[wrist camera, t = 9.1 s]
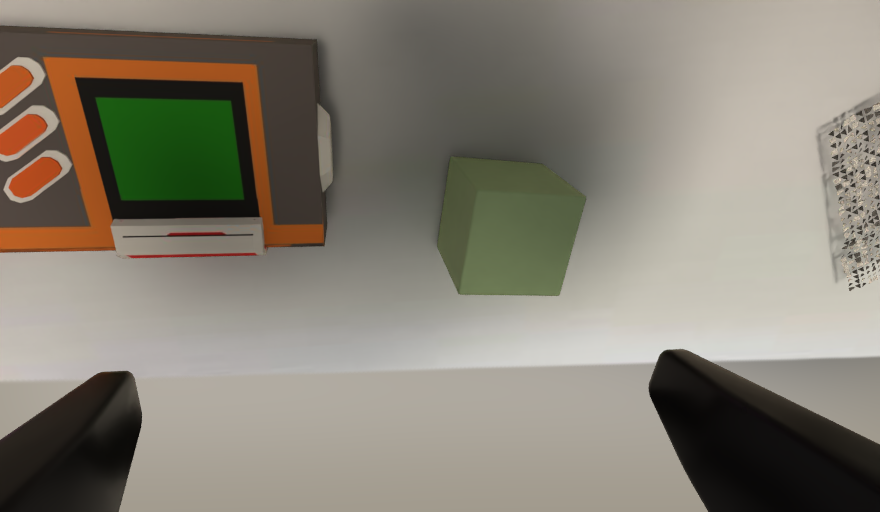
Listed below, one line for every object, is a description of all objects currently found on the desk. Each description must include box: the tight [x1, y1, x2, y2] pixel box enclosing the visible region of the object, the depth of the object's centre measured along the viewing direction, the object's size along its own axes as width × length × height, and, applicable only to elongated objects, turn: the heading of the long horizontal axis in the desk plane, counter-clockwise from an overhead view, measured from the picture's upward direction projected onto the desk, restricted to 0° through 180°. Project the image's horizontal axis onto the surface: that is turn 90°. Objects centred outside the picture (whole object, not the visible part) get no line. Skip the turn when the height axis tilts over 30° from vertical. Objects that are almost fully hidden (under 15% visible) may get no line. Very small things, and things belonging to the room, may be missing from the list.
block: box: [437, 157, 586, 296], centre depth 19 cm, size 4×4×4 cm
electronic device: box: [0, 26, 333, 258], centre depth 16 cm, size 7×3×15 cm
